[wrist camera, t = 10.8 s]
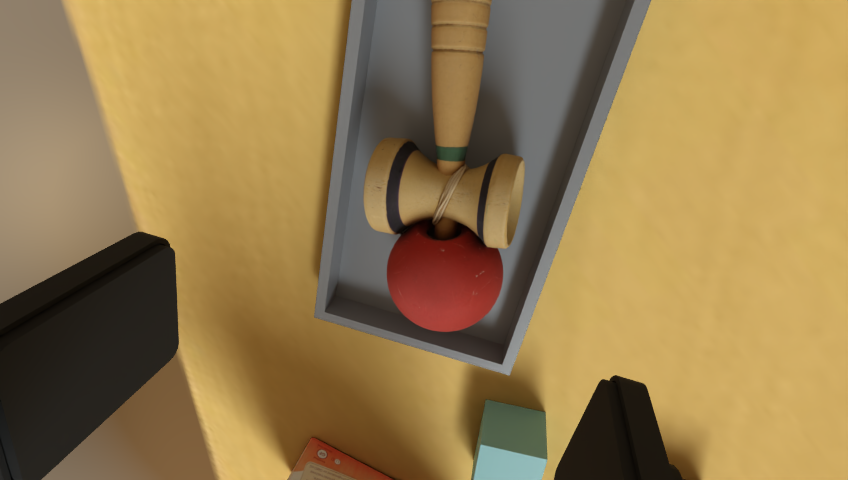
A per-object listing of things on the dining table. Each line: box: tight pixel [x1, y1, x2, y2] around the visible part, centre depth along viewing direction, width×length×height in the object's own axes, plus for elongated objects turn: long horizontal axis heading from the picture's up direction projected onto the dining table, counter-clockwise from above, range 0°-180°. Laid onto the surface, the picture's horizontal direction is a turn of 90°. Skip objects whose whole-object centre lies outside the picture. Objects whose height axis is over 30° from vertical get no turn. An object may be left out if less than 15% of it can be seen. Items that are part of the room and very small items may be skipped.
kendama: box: [363, 0, 525, 332], centre depth 23 cm, size 8×6×18 cm
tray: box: [314, 0, 651, 376], centre depth 24 cm, size 12×23×2 cm, turn 168°
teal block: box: [471, 399, 547, 480], centre depth 32 cm, size 4×6×4 cm, turn 175°
